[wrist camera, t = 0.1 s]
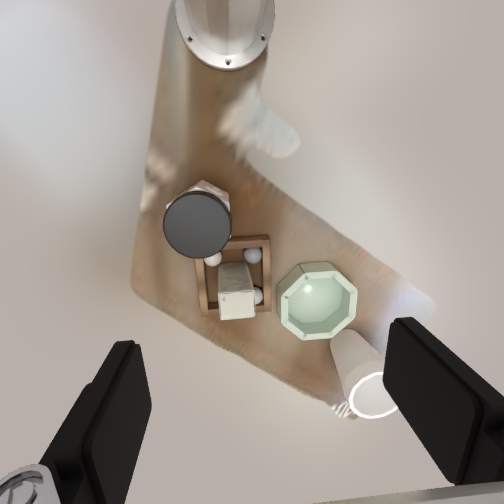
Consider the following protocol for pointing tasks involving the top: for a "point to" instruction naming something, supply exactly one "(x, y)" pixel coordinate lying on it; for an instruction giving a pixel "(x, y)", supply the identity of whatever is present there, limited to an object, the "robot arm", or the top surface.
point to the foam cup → (361, 375)
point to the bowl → (316, 301)
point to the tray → (265, 304)
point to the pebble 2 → (253, 255)
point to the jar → (198, 221)
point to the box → (235, 291)
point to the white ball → (258, 295)
